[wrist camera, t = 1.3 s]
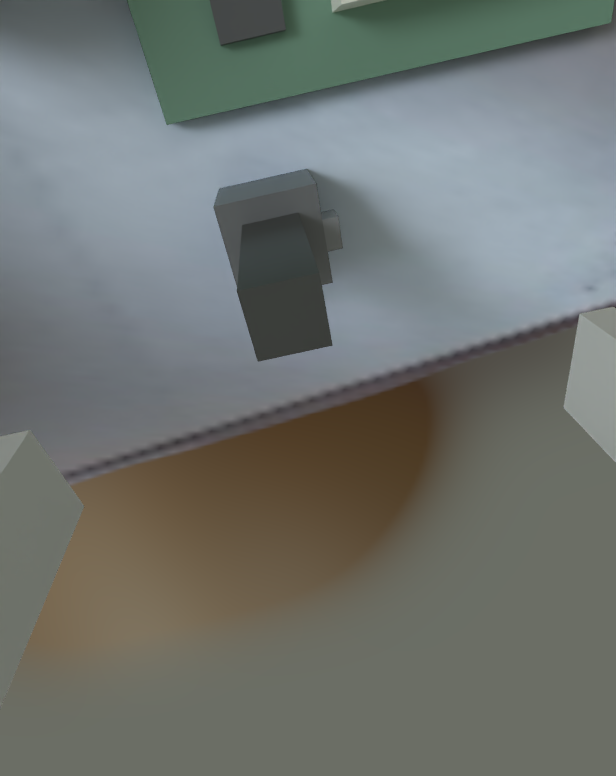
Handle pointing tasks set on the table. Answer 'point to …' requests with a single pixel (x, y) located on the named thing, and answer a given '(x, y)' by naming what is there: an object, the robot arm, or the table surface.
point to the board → (324, 42)
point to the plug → (280, 260)
